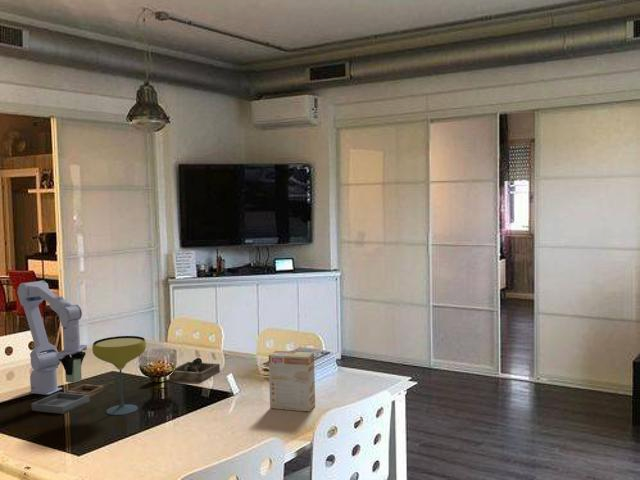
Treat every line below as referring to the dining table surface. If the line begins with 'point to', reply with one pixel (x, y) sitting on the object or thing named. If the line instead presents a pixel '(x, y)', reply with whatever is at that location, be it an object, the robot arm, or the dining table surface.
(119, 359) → the cocktail glass
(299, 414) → the dining table surface
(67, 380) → the green elongated block
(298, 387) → the coffeecake box
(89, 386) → the square brown frame
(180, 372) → the square serving dish
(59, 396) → the tray
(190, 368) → the eagle figurine
